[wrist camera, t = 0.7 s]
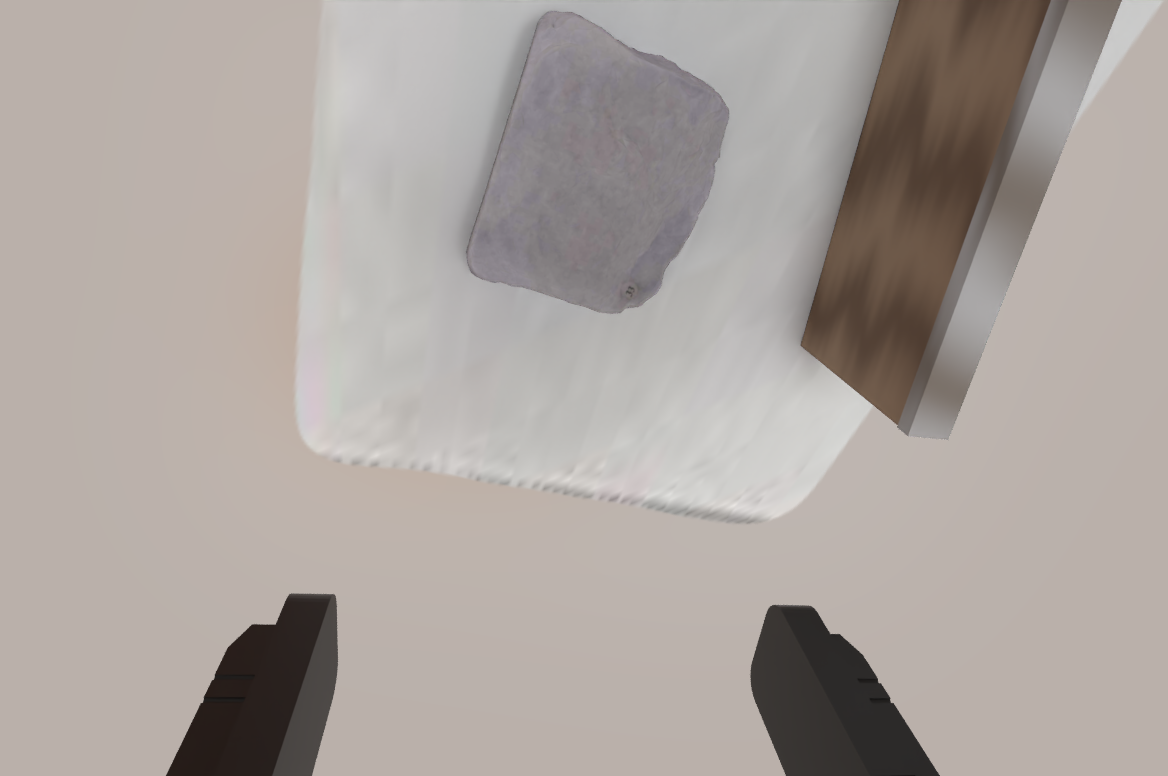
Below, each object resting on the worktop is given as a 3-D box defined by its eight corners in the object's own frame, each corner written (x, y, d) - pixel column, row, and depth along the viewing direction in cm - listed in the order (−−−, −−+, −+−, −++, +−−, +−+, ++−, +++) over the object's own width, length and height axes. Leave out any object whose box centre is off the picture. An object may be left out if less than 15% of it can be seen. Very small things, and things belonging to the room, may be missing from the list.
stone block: (714, 81, 33) (522, -4, 29) (765, 91, 29) (551, -5, 25) (625, 303, 37) (448, 257, 33) (659, 339, 33) (462, 292, 29)
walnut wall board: (921, -88, 29) (1135, -181, 20) (958, -79, 30) (1187, -166, 20) (798, 345, 37) (907, 436, 27) (828, 348, 37) (948, 439, 27)
